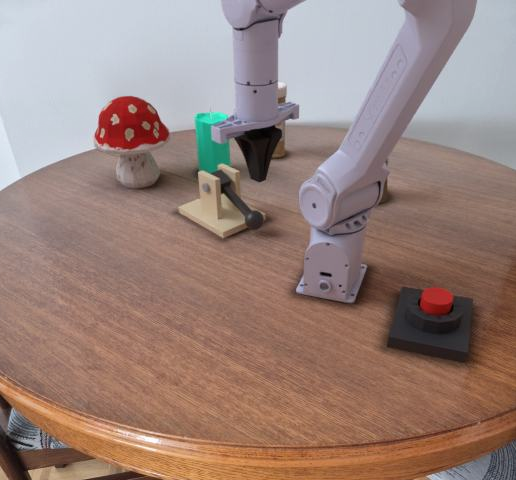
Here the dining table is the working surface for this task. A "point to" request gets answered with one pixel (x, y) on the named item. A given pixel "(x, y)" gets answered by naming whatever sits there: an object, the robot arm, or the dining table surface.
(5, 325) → the dining table surface
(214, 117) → the candle
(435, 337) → the control block
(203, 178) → the lever
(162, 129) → the decorative mushroom
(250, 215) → the lever
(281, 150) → the sprinkles bottle
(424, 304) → the button
